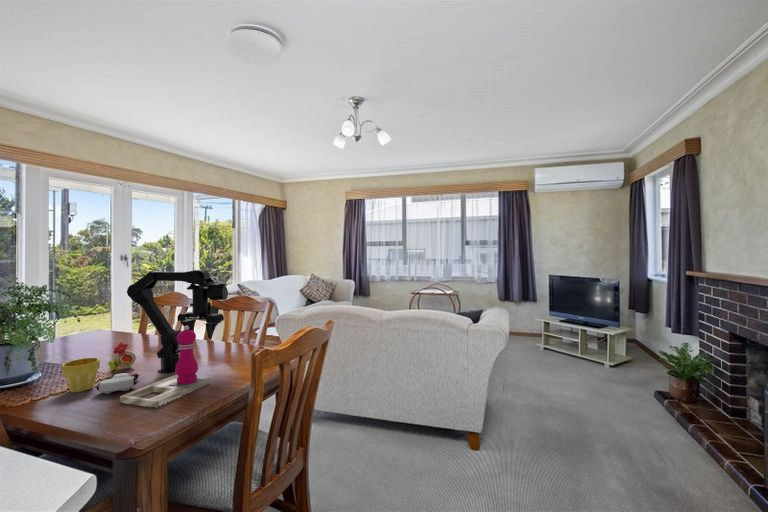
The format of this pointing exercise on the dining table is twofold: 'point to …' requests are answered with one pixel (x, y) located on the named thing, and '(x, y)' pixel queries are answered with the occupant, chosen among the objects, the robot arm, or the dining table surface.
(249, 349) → the dining table surface
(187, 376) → the pepper mill
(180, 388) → the puzzle board
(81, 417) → the dining table surface
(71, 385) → the plant pot
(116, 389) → the robot toy
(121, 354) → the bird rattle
